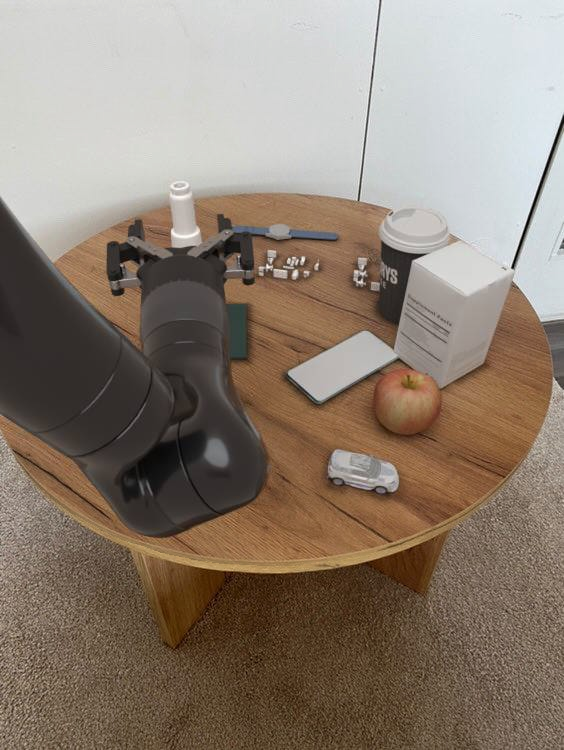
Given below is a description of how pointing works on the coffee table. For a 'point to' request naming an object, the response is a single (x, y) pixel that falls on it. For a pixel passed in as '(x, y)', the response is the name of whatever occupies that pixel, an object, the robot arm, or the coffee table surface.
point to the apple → (407, 401)
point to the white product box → (451, 311)
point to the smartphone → (341, 366)
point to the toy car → (362, 472)
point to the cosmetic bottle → (183, 216)
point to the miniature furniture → (283, 273)
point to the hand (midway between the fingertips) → (180, 224)
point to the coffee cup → (406, 251)
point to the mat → (237, 331)
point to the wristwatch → (284, 232)
